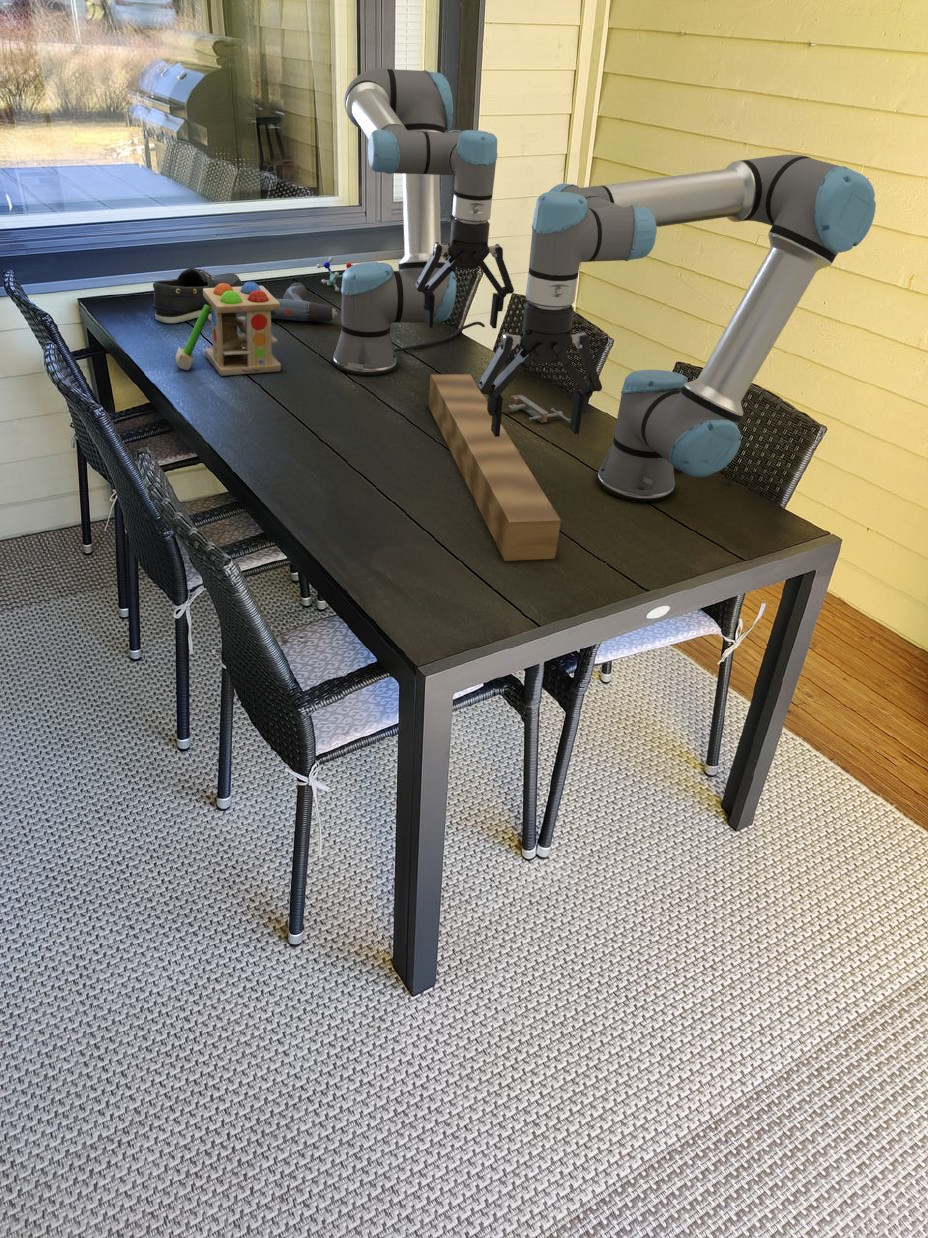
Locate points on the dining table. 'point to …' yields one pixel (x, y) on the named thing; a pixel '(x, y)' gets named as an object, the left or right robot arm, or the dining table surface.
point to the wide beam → (494, 471)
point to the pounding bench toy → (229, 347)
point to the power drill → (301, 307)
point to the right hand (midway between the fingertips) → (535, 432)
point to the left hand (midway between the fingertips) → (461, 325)
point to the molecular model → (332, 276)
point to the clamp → (526, 405)
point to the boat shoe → (186, 294)
